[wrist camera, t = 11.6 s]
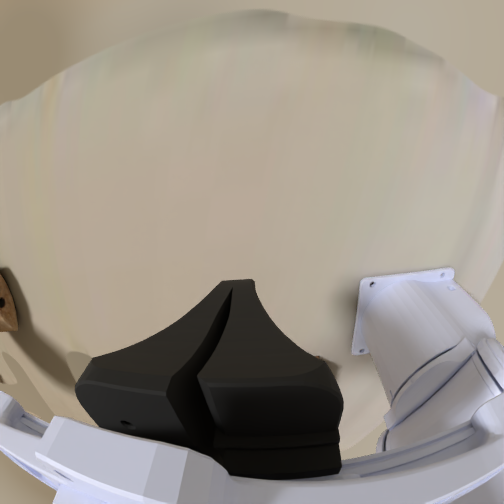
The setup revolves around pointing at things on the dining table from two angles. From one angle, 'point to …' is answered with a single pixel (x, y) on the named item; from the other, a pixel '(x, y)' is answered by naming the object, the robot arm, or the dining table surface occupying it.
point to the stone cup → (7, 309)
